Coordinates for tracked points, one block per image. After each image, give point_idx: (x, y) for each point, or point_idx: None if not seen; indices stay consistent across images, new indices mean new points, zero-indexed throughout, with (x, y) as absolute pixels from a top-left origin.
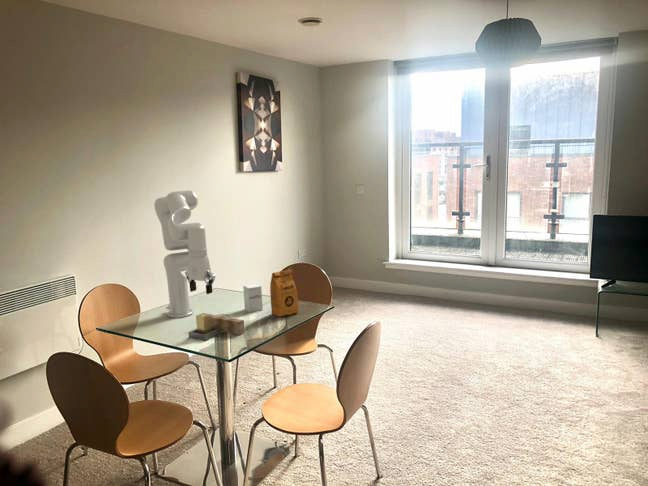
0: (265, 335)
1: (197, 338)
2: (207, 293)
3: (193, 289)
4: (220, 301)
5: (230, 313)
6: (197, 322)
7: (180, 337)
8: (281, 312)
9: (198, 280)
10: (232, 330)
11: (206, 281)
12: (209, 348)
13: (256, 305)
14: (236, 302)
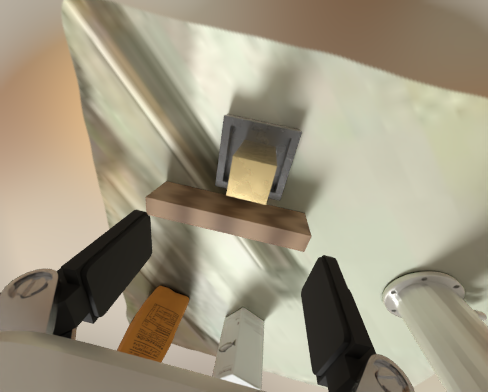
0: (111, 189)
1: (261, 121)
2: (133, 211)
3: (313, 281)
4: None
5: (282, 301)
6: (270, 156)
7: (331, 126)
8: (153, 293)
9: (120, 354)
10: (188, 190)
11: (5, 322)
12: (172, 51)
13: (230, 325)
14: (304, 349)
